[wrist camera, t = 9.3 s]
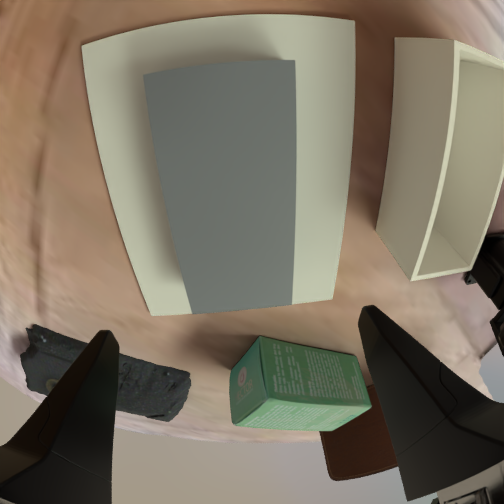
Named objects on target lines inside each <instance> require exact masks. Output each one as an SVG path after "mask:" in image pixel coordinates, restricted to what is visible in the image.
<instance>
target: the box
mask: <svg viewBox="0 0 504 504" xmlns="http://www.w3.org/2000/svg"><path fill="white" fill-rule="evenodd" d="M229 395H230V408H231V418H232V423H233V424H234V425H236V426H242V427H252V428H265V429H279V430H302V431H333V430H335V429H336V428H338V427H340V426H342V425H343V424H345V423H347V422H349V421H350V420H352V419H354V418H355V417H357V416H359V415H360V414H362V413H364V412H365V411H367V410H369V409H370V408H371V407H372V405H371V402H370V399H369V395H368V392H367V389H366V385H365V382H364V379H363V376H362V372H361V369H360V366H359V363H358V360H357V357H356V356H353V355H347V354H342V353H338V352H333V351H328V350H323V349H317V348H312V347H307V346H302V345H298V344H293V343H288V342H284V341H279V340H275V339H271V338H267V337H263V336H259V337H258V339H257V340H256V341H255V342H254V344H253V345H252V346H251V347H250V349H249V350H248V351H247V353H246V354H245V355H244V356H243V357H242V358H241V360H240V361H239V362H238V363H237V364H236V365H235V366H234V368H233V369H232V370H231V374H230V387H229Z"/></svg>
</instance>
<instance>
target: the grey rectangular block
mask: <svg viewBox="0 0 504 504" xmlns="http://www.w3.org/2000/svg"><path fill="white" fill-rule="evenodd" d="M143 79H144V86H145V94H146V101H147V108H148V115H149V121H150V127H151V134H152V140H153V145H154V151H155V157H156V162H157V167H158V173H159V178H160V183H161V188H162V193H163V198H164V202H165V207H166V212H167V216H168V221H169V225H170V229H171V234H172V238H173V242H174V246H175V251H176V255H177V259H178V263H179V267H180V271H181V274H182V278H183V282H184V286H185V290H186V293H187V297H188V301H189V304H190V308H191V311H192V314H202V313H215V312H227V311H238V310H248V309H258V308H268V307H277V306H286V305H292V294H293V274H294V250H295V220H296V163H297V123H296V69H295V60H256V61H237V62H225V63H214V64H205V65H197V66H189V67H182V68H176V69H170V70H164V71H159V72H154V73H148V74H144V75H143Z"/></svg>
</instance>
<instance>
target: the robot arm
mask: <svg viewBox="0 0 504 504" xmlns="http://www.w3.org/2000/svg"><path fill="white" fill-rule="evenodd" d="M465 283H466V284H467V285H469V284H474V283H478V285H479V286H480V287H481V289H482V290H483V291H484V293H485V294H486V295H487V297H488V298H490V299H491V300H492V302H493V303H494V304H495V306H496V307H497V309H498V310H500V311H499V312H498V313H497V315H496V316H495V317H494V318H492V320H491V321H490V324H491V327H492V330H493V332H494V335H495V337H496V340H497V342H498V345H499V347H500V350H501V352H502V355H503V356H504V233H499V234H490V235H485V237H484V240H483V243H482V245H481V248H480V250H479V253H478V255H477V258H476V260H475V262H474V265H473V267H472V269H471V270H470V271H469V272H468V274H467V276H466V279H465ZM358 327H359V332H360V336H361V340H362V344H363V349H364V353H365V358H366V362H367V365H368V368H369V371H370V374H371V377H372V380H373V383H374V386H375V389H376V392H377V395H378V398H379V402H380V405H381V408H382V411H383V414H384V418H385V421H386V424H387V427H388V431H389V434H390V438H391V441H392V445H393V448H394V452H395V455H396V459H397V463H398V467H399V471H400V475H401V479H402V483H403V486H404V491H405V495H406V499H407V501H411V500H414V499H417V498H420V497H423V496H426V495H429V494H432V493H435V492H437V495H438V497H437V498H436V499H433V501H432V503H431V504H504V403H499V402H496V401H493V400H491V399H489V398H488V397H486V396H485V395H483V394H482V393H481V392H479V391H478V390H477V389H475V388H474V387H472V386H471V385H470V384H468V383H467V382H465V381H464V380H463V379H461V378H460V377H459V376H458V375H456V374H455V373H454V372H453V371H451V370H450V369H449V368H448V367H447V366H446V365H444V364H443V363H442V362H440V360H439V359H437V358H436V357H435V356H434V355H433V354H432V353H431V352H429V351H428V350H427V349H426V348H425V347H424V346H422V345H421V344H420V343H419V342H418V341H417V340H415V339H414V338H413V337H412V336H411V335H410V334H408V333H407V332H406V331H405V330H404V329H402V328H401V327H400V326H399V325H398V324H396V323H395V322H394V321H393V320H392V319H390V318H389V317H388V316H387V315H386V314H384V313H383V312H382V311H381V310H380V309H378V308H377V307H376V306H374V305H369V306H364V307H363V308H362V311H361V314H360V317H359V321H358ZM118 383H119V344H118V342H117V340H116V339H115V337H114V335H113V333H112V332H111V331H110V330H100V331H99V332H98V333H97V334H96V335H95V336H94V338H93V339H92V340H91V341H90V342H89V344H88V345H87V346H86V347H85V348H84V350H83V351H82V352H81V353H80V355H79V356H78V357H77V358H76V359H75V361H74V362H73V363H72V364H71V366H70V367H69V368H68V369H67V371H66V372H65V373H64V374H63V376H62V377H61V378H60V380H59V381H58V382H57V383H56V385H55V386H54V387H53V389H52V390H51V391H50V393H49V394H48V395H47V397H46V398H45V399H44V400H43V402H42V403H41V404H40V406H39V407H38V408H37V409H36V411H35V412H34V413H33V414H32V416H31V417H30V418H29V419H28V420H27V422H26V423H25V424H24V425H23V426H22V427H21V428H20V429H19V431H18V432H17V433H16V434H15V435H14V436H13V437H12V438H11V439H10V440H9V441H8V442H7V443H6V444H4V445H2V446H0V504H112V497H111V496H112V492H111V491H112V488H111V487H112V483H111V481H112V451H113V436H114V424H115V413H116V403H117V394H118Z"/></svg>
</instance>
